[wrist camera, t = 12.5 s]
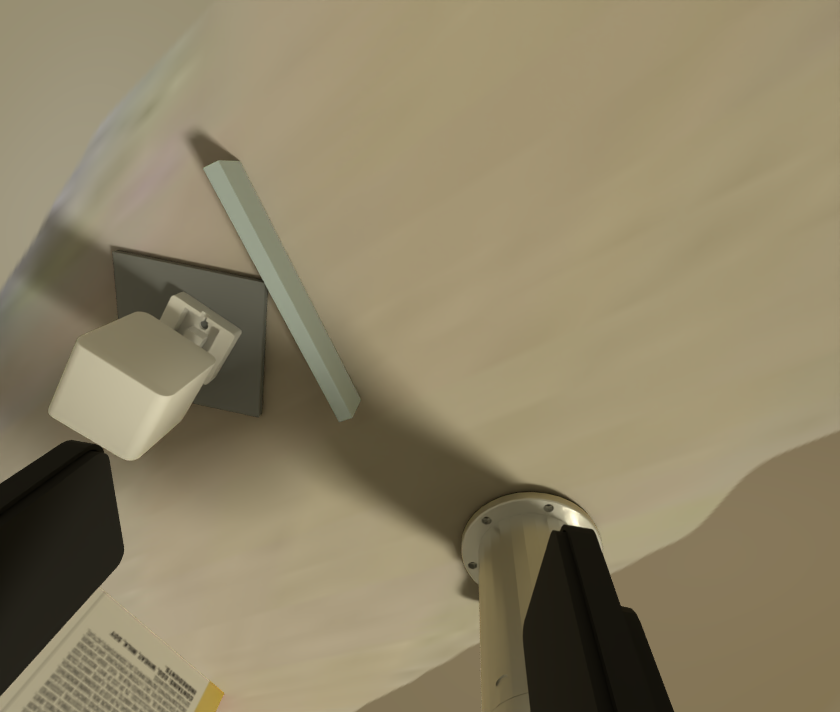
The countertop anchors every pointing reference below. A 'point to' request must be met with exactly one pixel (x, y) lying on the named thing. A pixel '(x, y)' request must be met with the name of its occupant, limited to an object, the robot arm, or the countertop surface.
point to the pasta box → (109, 669)
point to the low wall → (283, 284)
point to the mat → (221, 292)
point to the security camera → (141, 375)
